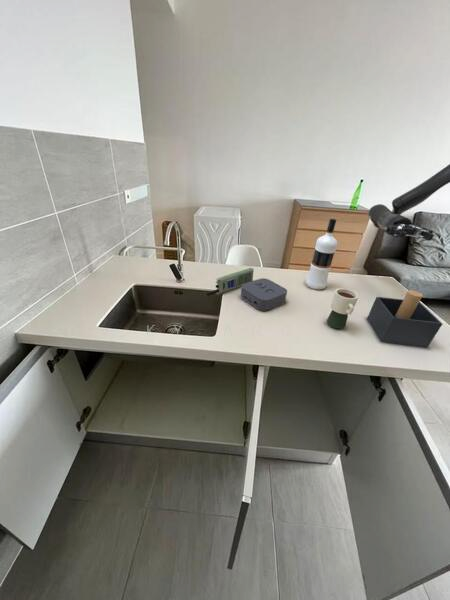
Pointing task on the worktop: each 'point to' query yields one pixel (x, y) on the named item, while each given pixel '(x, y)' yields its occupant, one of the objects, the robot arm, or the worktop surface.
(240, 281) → the handheld radio
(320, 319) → the worktop surface
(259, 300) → the streaming box
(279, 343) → the worktop surface
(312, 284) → the vodka
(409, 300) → the banded cardboard tube
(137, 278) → the worktop surface
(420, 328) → the bin
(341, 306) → the character mug
